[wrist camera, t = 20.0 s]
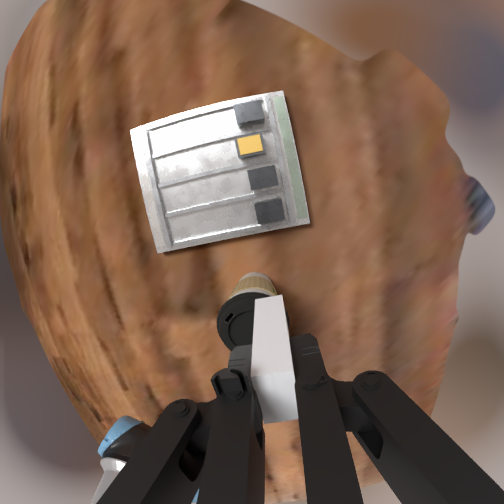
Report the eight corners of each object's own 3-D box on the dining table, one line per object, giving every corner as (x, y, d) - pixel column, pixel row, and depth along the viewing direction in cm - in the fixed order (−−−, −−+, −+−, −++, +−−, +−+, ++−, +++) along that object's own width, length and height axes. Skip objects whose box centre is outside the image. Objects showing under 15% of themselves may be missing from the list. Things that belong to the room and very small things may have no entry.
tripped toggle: (240, 159, 42) (238, 157, 38) (236, 141, 41) (233, 137, 37) (265, 154, 42) (266, 152, 38) (261, 135, 41) (261, 131, 37)
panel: (161, 250, 49) (149, 260, 43) (135, 131, 43) (119, 127, 37) (308, 221, 46) (314, 227, 41) (281, 94, 41) (284, 83, 35)
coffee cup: (261, 322, 52) (260, 372, 37) (217, 293, 50) (200, 337, 36) (294, 282, 49) (306, 324, 35) (248, 250, 48) (243, 283, 34)
